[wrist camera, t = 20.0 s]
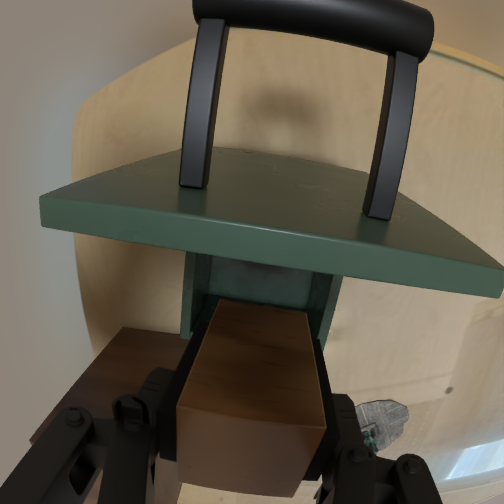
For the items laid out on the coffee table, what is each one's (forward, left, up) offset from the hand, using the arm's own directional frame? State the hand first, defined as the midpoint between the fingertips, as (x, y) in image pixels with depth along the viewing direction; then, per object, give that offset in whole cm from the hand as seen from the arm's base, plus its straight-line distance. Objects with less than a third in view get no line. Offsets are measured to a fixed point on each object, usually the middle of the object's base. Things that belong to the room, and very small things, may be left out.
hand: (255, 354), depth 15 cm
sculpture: (+29, -1, -17) cm, 34 cm away
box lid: (-6, +5, 0) cm, 8 cm away
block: (0, 0, -1) cm, 1 cm away
